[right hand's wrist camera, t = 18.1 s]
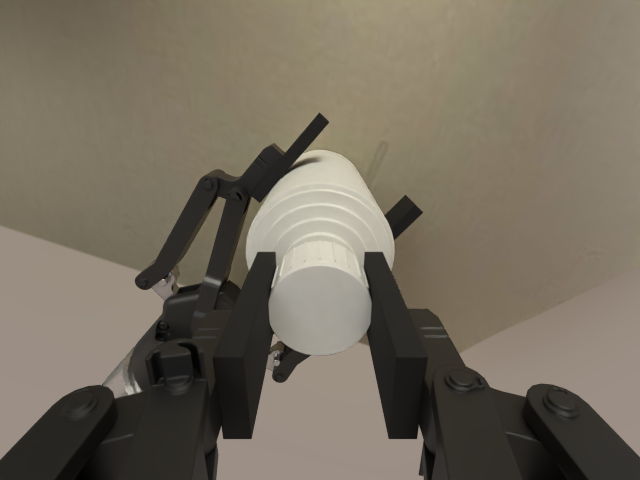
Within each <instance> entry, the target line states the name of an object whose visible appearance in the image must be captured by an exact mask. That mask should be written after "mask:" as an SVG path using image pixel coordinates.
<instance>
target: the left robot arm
mask: <svg viewBox="0 0 640 480" xmlns="http://www.w3.org/2000/svg"><path fill="white" fill-rule="evenodd" d="M328 123H329V121H328V120H327V119H326V118H325V117H324V116H323V115H322V114H321V113H319V114H318V115H317V116H316V117H315V119H314V120H313V121H312V122H311V123H310V124H309V126H308V127H307V128H306V129H305V130H304V132H303V133H302V134H301V135H300V136H299V137H298V139H297V140H296V141H295V142H294V143H293V145H292V146H291V147H290V148H289V149H288V151H287V152H286V153H285V152H284V151H282V150H281V149H280V148H279V147H278V146H277V145H276V144H275V143H273V144H272V145H270V146H268V147H266V148H265V149H264V150H263V151H262V152H261V153H260V154H259V156H258V157H257V158H256V159H255V161H254V162H253V163H252V164H251V165H250V167H249V168H248V169H247V170H246V172H245V173H244V174H243V175H242V176H241V177H233V176H230V175H228V174H226V173H225V172H224V171H222V170H220V169H216V170H214V171H212V172H210V173H208V174H207V175H205V176H203V177H202V178H201V179H200V180H199V182H198V184H197V186H196V188H195V189H194V191H193V193H192V195H191V197H190V199H189V200H188V202H187V204H186V206H185V208H184V210H183V211H182V213H181V215H180V217H179V219H178V221H177V222H176V224H175V226H174V228H173V230H172V232H171V233H170V235H169V237H168V239H167V241H166V243H165V244H164V246H163V248H162V250H161V252H160V254H159V255H158V257H157V259H156V260H154V261H153V262H152V263H151V264H150V265H149V266H148V267H147V268H145V269H144V270H143V271H142V272H141V273H140V274H139V275H138V276H137V277H136V278H135V283H136V285H137V287H139V288H140V289H143V290H148V289H150V288H152V289H153V290H154V291H155V292H156V293H157V294H158V295H159V296H160V297H161V298H162V299H163V300H165V302H164V305H163V313H162V315H161V316H160V317H159V318H158V320H157V321H156V322H155V323H154V324H153V325H152V326H151V328H150V329H149V330H148V331H147V332H146V333H145V335H144V336H143V337H142V338H141V339H140V340H139V342H138V343H137V344H136V346H135V347H134V348H133V349H132V350H131V351H130V352H129V353H128V355H127V356H126V357H125V358H124V359H123V360H122V361H121V363H120V364H119V365H118V366H117V367H116V368H115V369H114V371H113V372H112V373H111V374H110V375H109V376H108V378H107V379H106V381H105V382H104V383H103V384H102V386H106V387H109V388H110V389H111V390H112V391H113V393H114V397H115V398H118V397H123V396H127V395H131V394H135V393H139V392H142V391H146V390H148V389H150V387H151V386H150V381H149V377H148V372H147V368H146V363H145V358H146V356H147V355H148V353H149V352H150V351H151V350H153V349H154V348H155V347H157V346H158V345H160V344H162V343H165V342H167V341H170V340H174V339H179V338H190V339H192V336H193V334H194V332H195V330H197V327H198V325H199V323H200V321H201V320H202V318H203V317H205V316H206V315H207V314H208V313H210V312H211V311H212V310H233V308H234V305H235V303H236V301H237V298H238V296H239V294H240V291H241V290H240V289H239V288H238V286H237V285H235V284H234V283H232V282H231V281H230V280H229V281H228V282H227V279H228V276H229V273H230V269H231V264H232V260H233V257H234V254H235V250H236V247H237V244H238V240H239V237H240V234H241V230H242V227H243V224H244V220H245V217H246V214H247V210H248V207H249V204H250V200H251V197H253V198H255V199H256V200H257V201H258V202H259V203H260V202H261V201H262V200H263V198H264V197H265V196H266V195H267V194H268V193H269V191H270V190H271V189H272V188H273V187H274V186H275V184H276V183H277V182H278V181H279V180H280V179H281V178H282V176H283V175H284V174H285V173H286V172H287V171H288V169H289V168H290V167H291V166H292V165H293V164H294V162H295V161H296V160H297V159H298V158H299V157H300V155H301V154H302V153H303V152H304V151H305V150H306V148H307V147H308V146H309V145H310V144H311V143H312V142H313V140H314V139H315V138H316V137H317V136H318V135H319V133H320V132H321V131H322V130H323V129H324V128H325V126H326V125H327V124H328ZM219 196H220V197H222V198H225V199H226V203H225V207H224V210H223V214H222V218H221V221H220V225H219V229H218V232H217V236H216V239H215V243H214V247H213V250H212V254H211V258H210V261H209V265H208V269H207V272H206V275H205V278H204V280H203V283H200V284H195V285H190V286H185V287H180V288H179V287H178V286H177V284H176V280H177V278H178V277H179V275H180V272H179V267H178V266H177V264H178V262H179V261H180V260H181V259H182V258H183V257H184V255H185V254H186V252H187V250H188V249H189V247H190V245H191V243H192V242H193V240H194V238H195V236H196V235H197V233H198V231H199V230H200V228H201V226H202V224H203V223H204V221H205V219H206V217H207V216H208V214H209V212H210V210H211V209H212V207H213V205H214V203H215V202H216V200H217V198H218V197H219ZM422 213H423V212H422V211H421V210H420V209H419V208H418V207H417V206H416V205H415V204H414V203H413V202H412V201H411V200H410V199H409V198H408V197H407V196H406V195H405V196H404V197H403V198H402V199H401V200H400V201H399V202H398V203H397V204H396V205H395V206H394V207H393V208H392V209H391V210H390V211H389V212H388V213H387V214H386V215H385V218H386V220H387V221H388V224H389V226H390V228H391V231H392V235H393V239H394V240H395V239H396V238H397V237H398V236H399V235H400V234H401V233H402V232H403V231H404V230H405V229H406V228H407V227H408V226H410V225H411V224H412V223H413V222H414V221H415V220H416V219H417V218H418V217H419V216H420V215H421V214H422ZM273 334H274V332H273ZM309 356H311V355H308V354H304V353H301V352H298V351H296V350H294V349H292V348H290V347H288V346H287V345H286V344H284V343H283V342H282V341H278V342H277V344H275V345H274V346H272V347H271V348H270V351H269V356H268V361H267V366H266V368H267V369H269V370H271V371H273V375H272V377H273V379H274V380H275V381H276V382H279V383H282V382H285V381H286V380H287V378H288V377H289V376H290V374H291V373H292V371H293V370H294V368H295V367H296V366H297V364H299V363H300V362H302V361H303V360H305V359H306V358H308V357H309Z"/></svg>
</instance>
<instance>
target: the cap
mask: <svg viewBox="0 0 640 480" xmlns="http://www.w3.org/2000/svg"><path fill="white" fill-rule="evenodd" d="M271 288H272V290H271V294H270V298H269V320H270V325H271V327H272V330H273V331H274V333H275V334H276V335H277V337H278V338H279V339H280V340H281V341H282V342H283V343H284V344H286V345H287V346H288V347H290V348H292V349H294V350H296V351H298V352H301V353H304V354H308V355H316V356H325V355H332V354H336V353H339V352H342V351H345V350H347V349H348V348H350V347H352V346H353V345H355V344H356V343H357V342H358V341H359V340H360V339H361V338H362V337H363V336H364V334H365V333H366V331H367V330H368V328H369V326H370V323H371V307H372V301H371V297H370V293H369V289H368V288H369V285H368V281H367V278H366V274H365V270H364V267H363V266H361V264H360V262H359V260H358V259H357V256H356V255H354V254H353V253H351V252H350V251H349V250H348V249H347V248H346V247H343V246H341V245H339V244H335V242H333V243H332V242H327V241H321V240H319V241H313V242H308V243H307V242H305V244H302V245H300V246H297V247H296V248H295V247H294V248H293V249H292V250H291V251H290V252H289V253H287V255H286V256H285V255H284V256H283V259H282V261H281V262H280V264H279V266H277V267H276V271H275V274H274V278H273V282H272V285H271Z"/></svg>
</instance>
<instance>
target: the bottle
mask: <svg viewBox="0 0 640 480" xmlns="http://www.w3.org/2000/svg"><path fill="white" fill-rule="evenodd" d="M319 240H321V241H327V242H332V243H333V242H335V244H339V245H341V246H343V247H346V248H347V249H348V250H349V251H350V252H351V253H353V254H354V255H356V256H357V259H358V260H359V262H360V264H361V266H363V267H364V253H365V252H383V254H384V256H385V258H386V261H387V263H388V265H389V268H390V270H392V267H393V262H394V252H395V247H394V239H393V235H392V231H391V228H390V226H389V224H388V221H387V220H386V218H385V216H384V215H383V213H382V211H381V210H380V208H379V206H378V204H377V203H376V201H375V199H374V198H373V196H372V194H371V193H370V191H369V189H368V188H367V186H366V184H365V182H364V181H363V179H362V177H361V176H360V174H359V172H358V171H357V169H356V168H355V166H354V165H353V164H352V163H351V162H350V161H349V160H348V159H346V158H345V157H343V156H342V155H340V154H338V153H335V152H332V151H327V150H313V151H308V152H305V153H303V154H301V155H300V157H299V158H298V159H297V160H296V161H295V162H294V164H293V165H292V166H291V167H290V168H289V169H288V171H287V172H286V173H285V174H284V175H283V176H282V178H281V179H280V180H279V181H278V182H277V183H276V184H275V186H274V187H273V188H272V189H271V191H270V193H269V195H268V196H267V198H266V200H265V201H264V203H263V205H262V206H261V208H260V210H259V211H258V213H257V215H256V216H255V218H254V220H253V222H252V224H251V226H250V229H249V232H248V235H247V241H246V261H247V266H248V269H249V271H250V268H251V266H252V264H253V261H254V259H255V257H256V254H257V252H276V267H277V266H279V264H280V262H281V261H282V259H283V256H284V255H285V256H286V255H287V253H289V252H290V251H291V250H292V249H293V248H294V247H295V248H296V247H297V246H300V245H302V244H305V242H307V243H308V242H313V241H319Z"/></svg>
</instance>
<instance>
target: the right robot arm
mask: <svg viewBox="0 0 640 480" xmlns="http://www.w3.org/2000/svg"><path fill="white" fill-rule="evenodd" d="M364 270H365V274H366V278H367V281H368V285H369V288H368V289H369V293H370V297H371V301H372V307H371V323H370V326H369V328H368V330H367V336H368V341H369V345H370V350H371V355H372V360H373V365H374V370H375V374H376V379H377V384H378V389H379V394H380V399H381V403H382V408H383V413H384V418H385V423H386V428H387V432H388V437H389V439H417V434H418V427H419V426H420V429H421V432H422V435H423V439H424V442H423V449H422V456H421V463H420V470H419V475H421V476H423V474H424V480H640V457H639V456H638V455H637V454H636V453H635V452H634V451H633V450H632V449H631V448H630V447H629V446H628V445H627V444H626V443H625V442H624V440H623V439H622V438H621V437H620V436H619V435H618V434H617V433H616V432H615V431H614V430H613V429H612V428H611V427H610V426H609V425H608V424H607V423H606V422H605V421H604V420H603V419H602V418H601V417H600V416H599V415H598V414H597V413H596V412H595V411H594V410H593V409H592V407H591V406H590V405H589V404H588V403H586V402H585V401H584V400H583V399H581V398H580V397H579V396H578V395H576V394H574V393H572V392H570V391H568V390H567V389H564V388H561V387H558V386H555V385H550V384H538V385H533V386H532V387H531V388H530V389H529V390H528V391H527V395H526V397H523V396H519V395H515V394H511V393H506V392H502V391H499V390H496V389H493V388H491V387H490V386H489V385H488V383H487V381H486V380H485V378H484V377H482V376H481V375H480V374H479V373H478V372H476V371H474V370H472V369H470V368H468V367H466V366H465V364H464V362H463V360H462V359H461V357H460V355H459V353H458V352H457V350H456V348H455V346H454V344H453V343H452V341H451V339H450V338H449V337H448V334H447V332H446V330H445V329H444V327H443V325H442V323H441V321H440V320H439V318H438V317H437V316H436V315H435V314H433V313H432V312H431V311H429V310H428V309H407V307H406V305H405V302H404V300H403V298H402V295H401V293H400V291H399V288H398V286H397V284H396V282H395V279H394V277H393V275H392V272H391V270H390V268H389V265H388V263H387V261H386V258H385V256H384V254H383V252H365V253H364ZM275 271H276V252H257V254H256V257H255V259H254V261H253V264H252V266H251V268H250V271H249V273H248V275H247V277H246V280H245V282H244V284H243V287H242V289H241V291H240V294H239V296H238V298H237V301H236V303H235V305H234V308H233V310H212V311H211V312H210V313H208V314H207V315H206V316H205V317H203V318H202V320H201V321H200V323H199V325H198V327H197V330H195V332H194V334H193V336H192V339H190V338H179V339H174V340H170V341H167V342H165V343H162V344H160V345H158V346H157V347H155V348H154V349H153V350H151V351H150V352H149V353H148V355H147V356H146V358H145V363H146V368H147V372H148V377H149V381H150V386H151V387H150V389H148V390H146V391H142V392H139V393H135V394H131V395H127V396H123V397H118V398H115V397H114V393H113V391H112V390H111V389H110V388H109V387H106V386H101V385H95V386H87V387H84V388H81V389H78V390H75V391H73V392H71V393H69V394H68V395H66V396H64V397H62V398H61V399H60V400H59V401H58V402H56V403H55V404H54V405H53V406H52V407H51V408H50V409H49V410H48V411H47V412H46V413H45V414H44V415H43V416H42V417H41V418H40V419H39V420H38V421H37V422H36V423H35V424H34V425H33V426H32V427H31V429H30V430H29V431H28V432H27V433H26V434H25V435H24V436H23V437H22V438H21V439H20V440H19V441H18V442H17V443H16V444H15V445H14V446H13V447H12V448H11V449H10V450H9V451H8V452H7V453H6V455H5V456H4V457H3V458H2V459H1V460H0V480H216V475H217V464H218V449H217V442H216V441H217V438H218V435H219V431H220V428H221V425H222V432H223V439H251V438H252V434H253V429H254V424H255V419H256V414H257V409H258V404H259V400H260V394H261V390H262V385H263V380H264V376H265V371H266V366H267V361H268V356H269V351H270V346H271V342H272V337H273V332H274V331H273V330H272V327H271V325H270V320H269V298H270V294H271V290H272V288H271V285H272V282H273V278H274V274H275Z"/></svg>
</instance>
